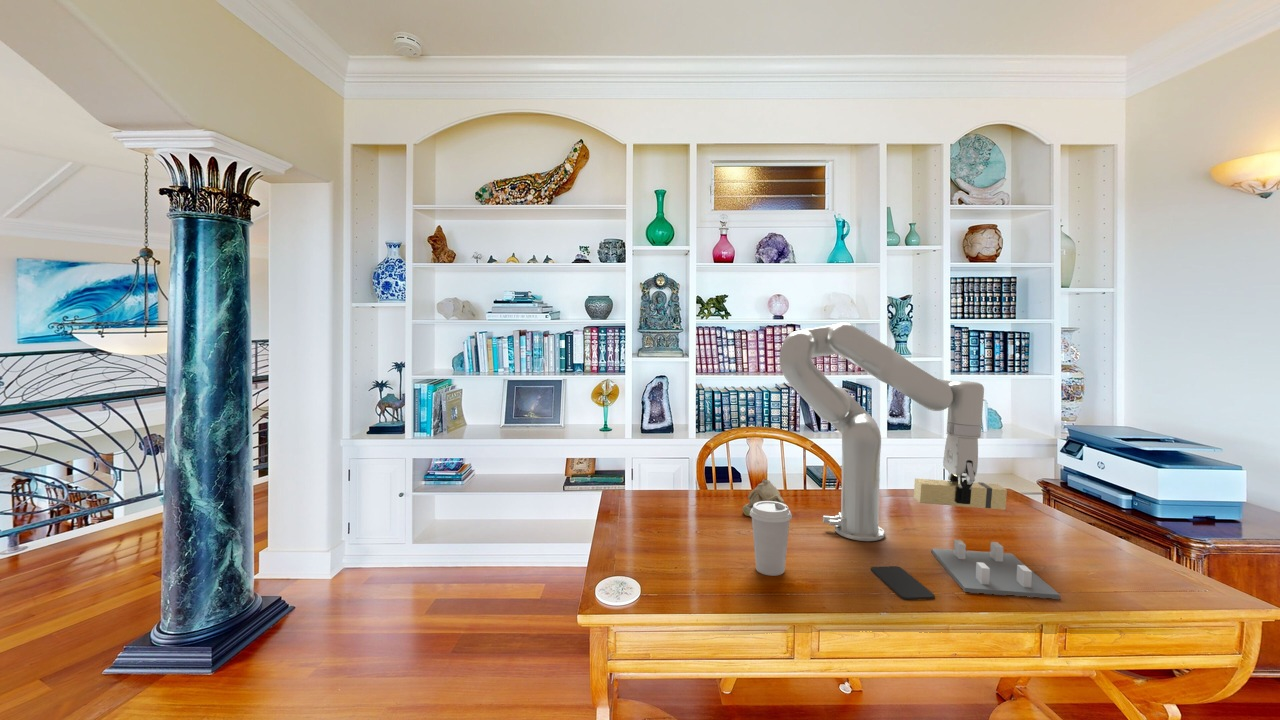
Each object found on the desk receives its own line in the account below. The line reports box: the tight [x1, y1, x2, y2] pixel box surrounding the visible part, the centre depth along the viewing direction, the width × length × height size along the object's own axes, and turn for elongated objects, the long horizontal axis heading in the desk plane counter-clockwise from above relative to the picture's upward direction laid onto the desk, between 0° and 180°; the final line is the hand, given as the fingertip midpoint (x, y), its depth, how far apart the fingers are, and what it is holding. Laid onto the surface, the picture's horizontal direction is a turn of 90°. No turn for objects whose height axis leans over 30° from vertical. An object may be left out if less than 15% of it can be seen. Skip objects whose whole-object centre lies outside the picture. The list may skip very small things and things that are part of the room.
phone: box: [870, 565, 936, 601], centre depth 122 cm, size 7×1×15 cm
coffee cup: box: [749, 501, 793, 577], centre depth 129 cm, size 10×10×15 cm
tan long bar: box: [913, 478, 1008, 511], centre depth 143 cm, size 20×5×5 cm, turn 81°
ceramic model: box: [742, 478, 785, 517], centre depth 169 cm, size 14×11×10 cm
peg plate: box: [931, 539, 1061, 600], centre depth 126 cm, size 18×21×4 cm
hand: (958, 499), depth 143 cm, fingers closed on tan long bar, 5 cm apart
